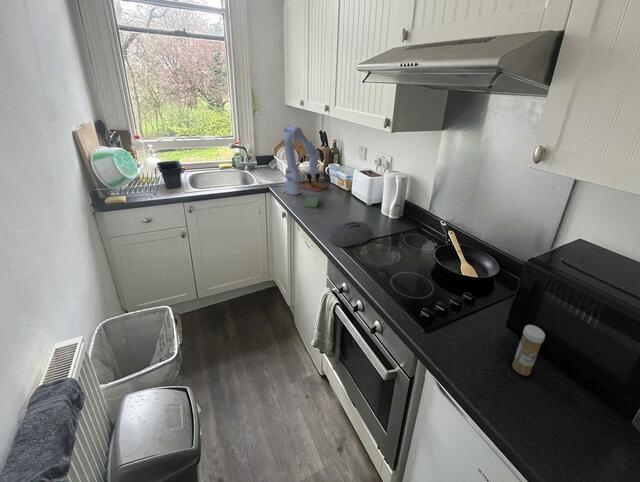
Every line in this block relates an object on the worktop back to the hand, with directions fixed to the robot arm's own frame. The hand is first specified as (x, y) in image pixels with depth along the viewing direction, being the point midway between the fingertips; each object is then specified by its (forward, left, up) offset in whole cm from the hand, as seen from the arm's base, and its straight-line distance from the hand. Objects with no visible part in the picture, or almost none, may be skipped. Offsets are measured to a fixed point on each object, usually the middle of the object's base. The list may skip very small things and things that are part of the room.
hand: (313, 183), depth 214 cm
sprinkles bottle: (+126, -101, -2) cm, 161 cm away
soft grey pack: (+56, -59, -2) cm, 81 cm away
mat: (0, 0, -2) cm, 2 cm away
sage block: (+17, -30, -2) cm, 35 cm away
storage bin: (-81, -52, -2) cm, 96 cm away
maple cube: (0, 0, -1) cm, 1 cm away
